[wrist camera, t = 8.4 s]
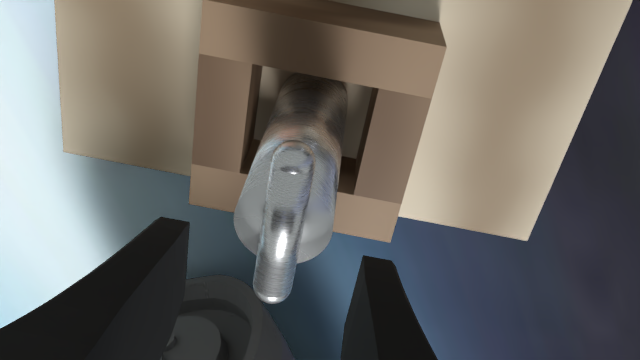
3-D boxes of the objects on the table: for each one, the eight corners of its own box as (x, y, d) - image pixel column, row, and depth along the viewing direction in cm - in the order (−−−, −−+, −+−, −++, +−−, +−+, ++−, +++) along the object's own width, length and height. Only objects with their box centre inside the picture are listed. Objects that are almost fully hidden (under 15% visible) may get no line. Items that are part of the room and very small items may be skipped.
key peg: (360, 44, 20) (349, 164, 13) (335, 164, 22) (314, 320, 15) (288, 30, 20) (237, 142, 13) (271, 152, 22) (220, 302, 15)
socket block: (439, 22, 19) (446, 46, 17) (389, 203, 23) (390, 242, 20) (222, -21, 19) (202, -1, 17) (207, 168, 23) (188, 203, 20)
